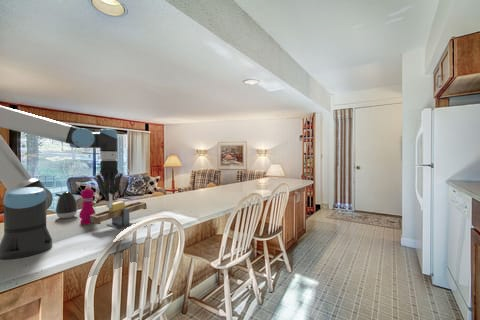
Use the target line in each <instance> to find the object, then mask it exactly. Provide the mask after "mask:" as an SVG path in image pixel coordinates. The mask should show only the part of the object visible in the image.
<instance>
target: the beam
mask: <svg viewBox="0 0 480 320" xmlns="http://www.w3.org/2000/svg"><path fill="white" fill-rule="evenodd" d="M125 209H129V214H130V213H133V212H135V211H140V210H147V203H146V202H144V201H135V202H132V203H129V204H125ZM122 210H123V209H121V210H118V211H115V212H111V213H110V212H109V209H107V210H104V211H101V212H95V214H92V215H90V221H91V224H95V225H101V222H104V221H108V220H112V218H114V217H118V216H121V215H122Z"/></svg>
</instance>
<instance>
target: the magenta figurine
mask: <svg viewBox="0 0 480 320" xmlns="http://www.w3.org/2000/svg"><path fill="white" fill-rule="evenodd" d="M94 195H95V191H94V190H93V189H92V188H90V186H89V185H87V186H85V188H84V189H83V190H82V191H80V196H81V202H82V207H81V209H80V212H79V215H78V217H79V218H80V225H82V226H83V225H91V224H92V223H91V221H90V215H92V214H96V210H95V209H94V206H93V201H94Z"/></svg>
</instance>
